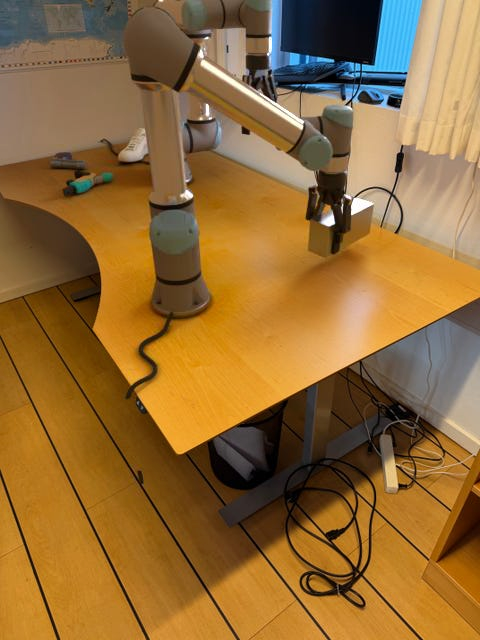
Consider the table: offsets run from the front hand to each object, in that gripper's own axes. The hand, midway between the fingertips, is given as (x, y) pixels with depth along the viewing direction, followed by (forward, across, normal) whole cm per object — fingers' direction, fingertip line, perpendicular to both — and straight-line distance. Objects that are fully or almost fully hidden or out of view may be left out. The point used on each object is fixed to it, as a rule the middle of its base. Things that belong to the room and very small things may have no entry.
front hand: (325, 248), depth 138 cm
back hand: (-25, +38, -11) cm, 47 cm away
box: (+1, 0, -7) cm, 7 cm away
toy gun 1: (+5, +139, +8) cm, 139 cm away
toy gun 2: (+5, +110, +19) cm, 112 cm away
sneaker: (+5, +127, -20) cm, 129 cm away
